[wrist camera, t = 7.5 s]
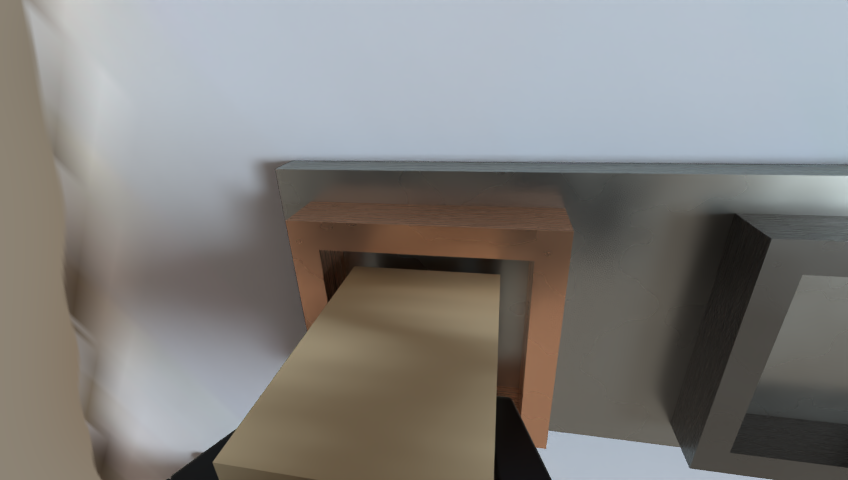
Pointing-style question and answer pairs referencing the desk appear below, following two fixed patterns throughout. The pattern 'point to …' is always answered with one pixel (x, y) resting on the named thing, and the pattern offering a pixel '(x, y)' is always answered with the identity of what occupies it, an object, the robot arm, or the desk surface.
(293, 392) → the wooden block
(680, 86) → the desk surface
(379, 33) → the desk surface
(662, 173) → the base plate
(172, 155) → the desk surface
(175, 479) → the robot arm
